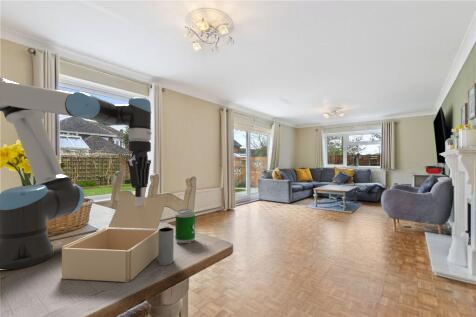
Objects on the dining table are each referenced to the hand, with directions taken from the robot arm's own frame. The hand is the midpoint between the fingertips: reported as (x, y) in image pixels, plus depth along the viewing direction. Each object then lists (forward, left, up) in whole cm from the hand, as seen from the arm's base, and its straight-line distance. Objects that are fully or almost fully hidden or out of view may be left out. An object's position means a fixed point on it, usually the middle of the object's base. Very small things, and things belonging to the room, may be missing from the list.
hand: (139, 205), depth 86 cm
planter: (+14, -11, -16) cm, 24 cm away
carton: (0, -14, -15) cm, 21 cm away
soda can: (+14, +8, -16) cm, 23 cm away
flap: (0, -5, -7) cm, 8 cm away
